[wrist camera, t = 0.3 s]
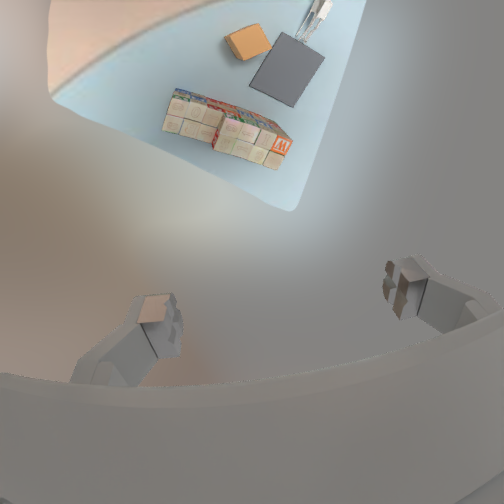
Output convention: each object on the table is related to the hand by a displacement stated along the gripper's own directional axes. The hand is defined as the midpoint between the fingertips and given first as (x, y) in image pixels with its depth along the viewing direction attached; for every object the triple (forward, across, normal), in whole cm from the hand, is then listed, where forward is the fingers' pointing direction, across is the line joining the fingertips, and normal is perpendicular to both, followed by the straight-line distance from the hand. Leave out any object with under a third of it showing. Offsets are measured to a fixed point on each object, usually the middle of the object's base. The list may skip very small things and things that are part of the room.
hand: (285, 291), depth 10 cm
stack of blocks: (+50, +3, -5) cm, 50 cm away
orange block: (+47, -3, -19) cm, 51 cm away
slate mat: (+49, -11, -13) cm, 52 cm away
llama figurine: (+46, -17, -28) cm, 57 cm away
